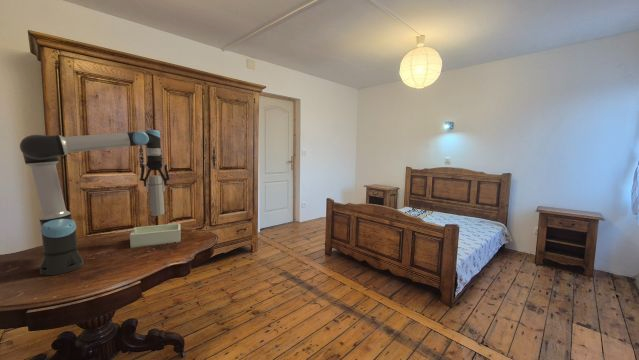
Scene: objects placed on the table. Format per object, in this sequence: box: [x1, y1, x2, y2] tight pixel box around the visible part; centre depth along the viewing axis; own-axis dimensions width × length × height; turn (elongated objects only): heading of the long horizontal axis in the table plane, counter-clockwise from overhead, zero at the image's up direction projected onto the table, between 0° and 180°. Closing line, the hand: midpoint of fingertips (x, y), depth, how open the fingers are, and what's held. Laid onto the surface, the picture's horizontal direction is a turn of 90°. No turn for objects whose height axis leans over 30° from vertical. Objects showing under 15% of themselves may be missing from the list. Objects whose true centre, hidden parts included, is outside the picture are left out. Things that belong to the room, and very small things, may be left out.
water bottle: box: [148, 174, 165, 217], centre depth 166 cm, size 9×8×25 cm
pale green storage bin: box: [129, 222, 182, 249], centre depth 169 cm, size 26×16×8 cm, turn 118°
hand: (155, 191), depth 166 cm, fingers closed on water bottle, 8 cm apart
